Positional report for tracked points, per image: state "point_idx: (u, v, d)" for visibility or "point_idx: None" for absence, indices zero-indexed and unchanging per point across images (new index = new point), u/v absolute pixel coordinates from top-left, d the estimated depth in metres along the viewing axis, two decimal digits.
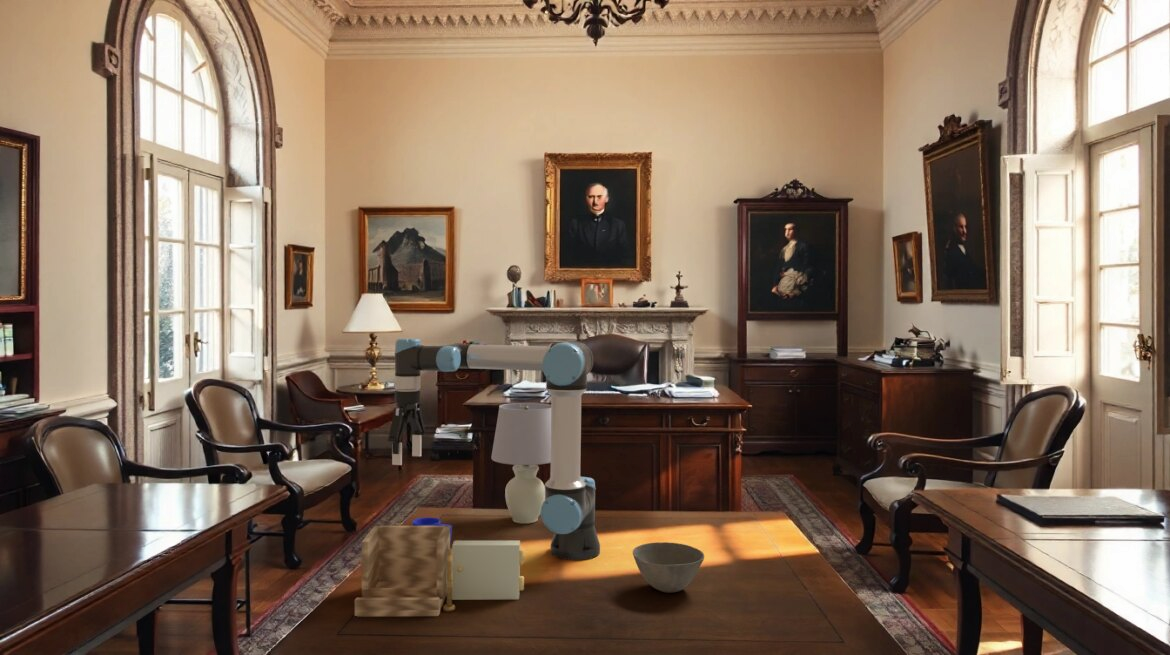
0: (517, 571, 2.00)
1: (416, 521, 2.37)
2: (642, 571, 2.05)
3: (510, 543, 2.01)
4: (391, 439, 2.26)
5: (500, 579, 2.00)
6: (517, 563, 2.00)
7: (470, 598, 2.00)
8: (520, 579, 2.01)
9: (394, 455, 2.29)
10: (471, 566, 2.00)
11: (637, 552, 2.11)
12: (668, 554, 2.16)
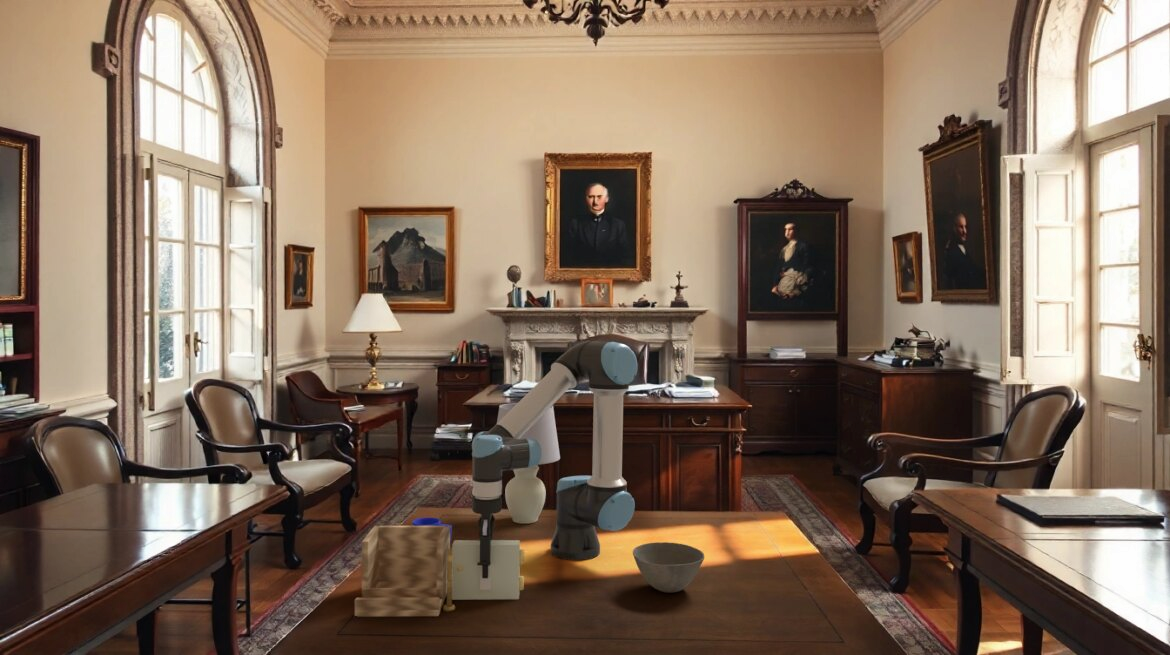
0: (517, 571, 2.00)
1: (416, 521, 2.37)
2: (642, 571, 2.05)
3: (509, 543, 2.01)
4: (483, 563, 1.96)
5: (500, 579, 2.00)
6: (517, 563, 2.00)
7: (470, 598, 2.00)
8: (520, 579, 2.01)
9: (482, 579, 1.99)
10: (471, 565, 2.00)
11: (637, 552, 2.11)
12: (668, 554, 2.16)
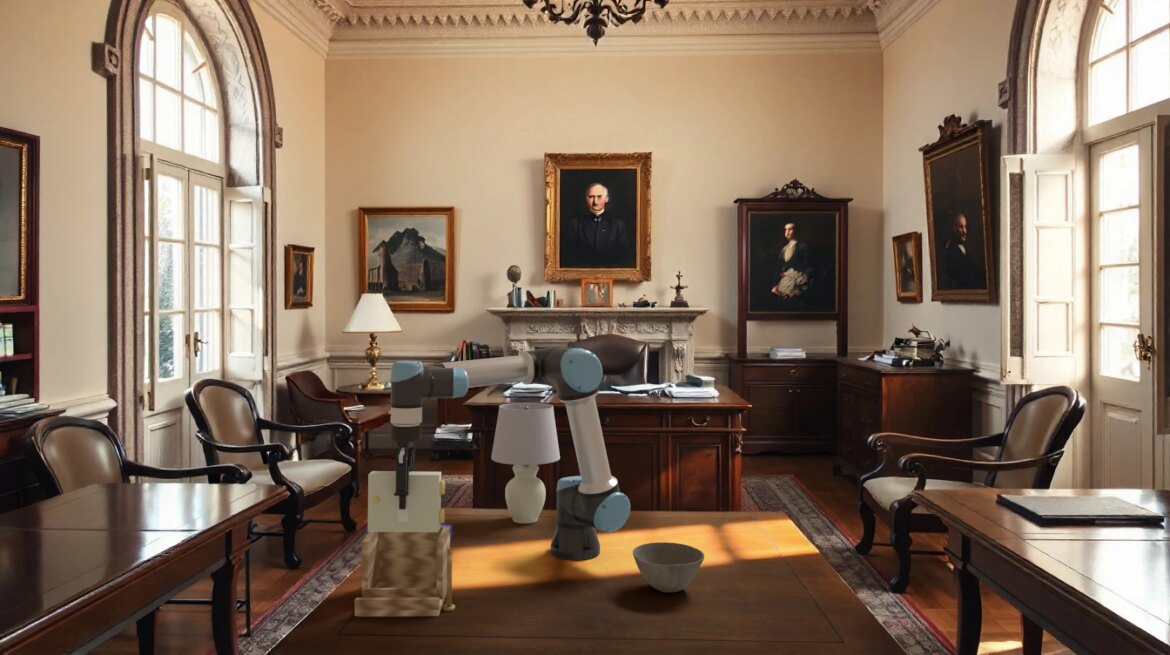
0: (436, 502, 1.91)
1: None
2: (642, 571, 2.05)
3: (429, 473, 1.92)
4: (400, 493, 1.87)
5: (419, 510, 1.91)
6: (437, 494, 1.91)
7: (387, 530, 1.90)
8: (440, 511, 1.92)
9: (400, 510, 1.90)
10: (388, 496, 1.90)
11: (637, 552, 2.11)
12: (668, 554, 2.16)
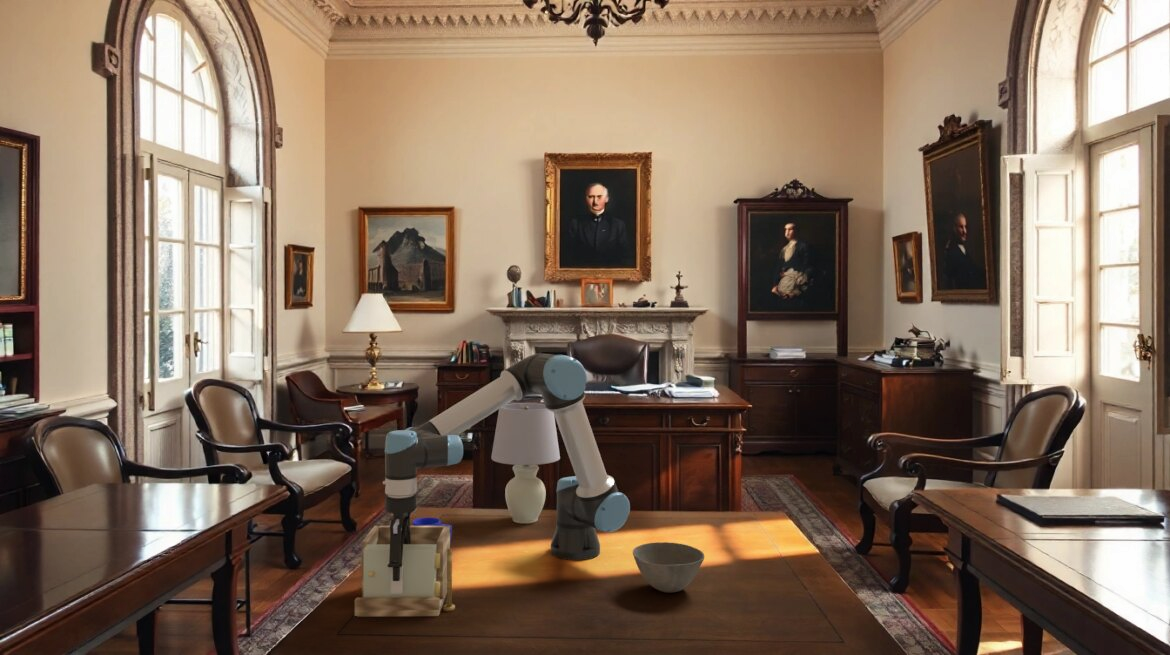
0: (432, 576, 1.91)
1: (416, 521, 2.37)
2: (642, 571, 2.05)
3: (424, 547, 1.92)
4: (393, 565, 1.85)
5: (414, 585, 1.91)
6: (432, 568, 1.91)
7: None
8: (436, 585, 1.92)
9: (393, 582, 1.88)
10: (383, 571, 1.90)
11: (637, 552, 2.11)
12: (668, 554, 2.16)
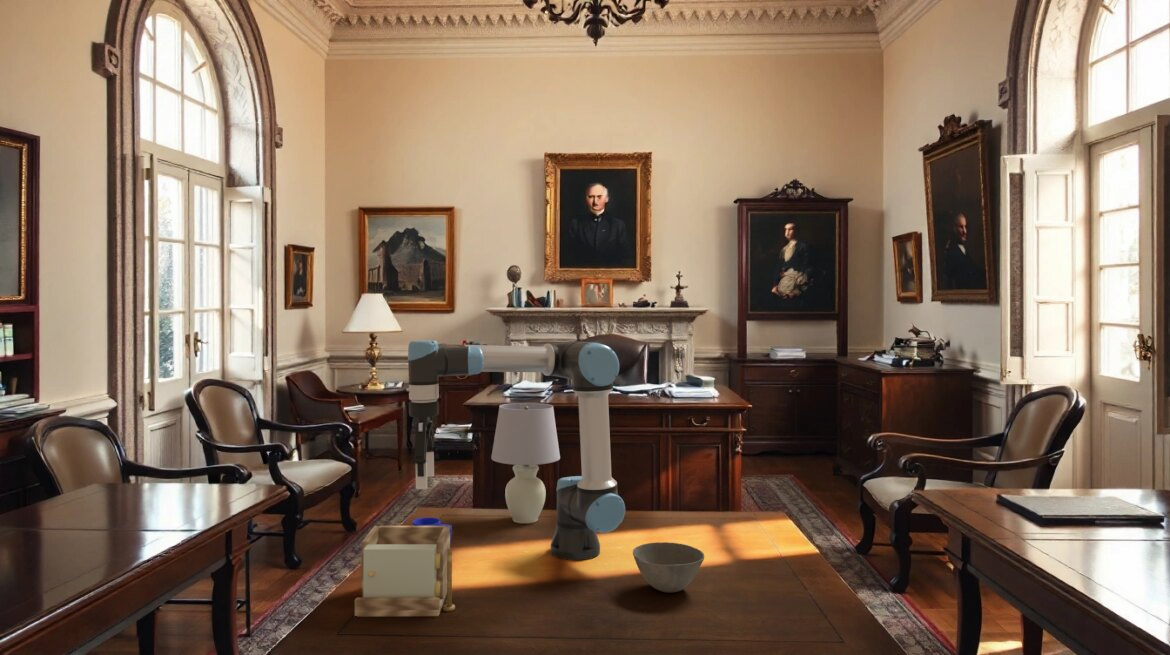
0: (432, 576, 1.91)
1: (416, 521, 2.37)
2: (642, 571, 2.05)
3: (424, 547, 1.92)
4: (418, 460, 1.92)
5: (414, 585, 1.91)
6: (432, 568, 1.91)
7: None
8: (436, 585, 1.92)
9: (418, 478, 1.95)
10: (383, 571, 1.90)
11: (637, 552, 2.11)
12: (668, 554, 2.16)
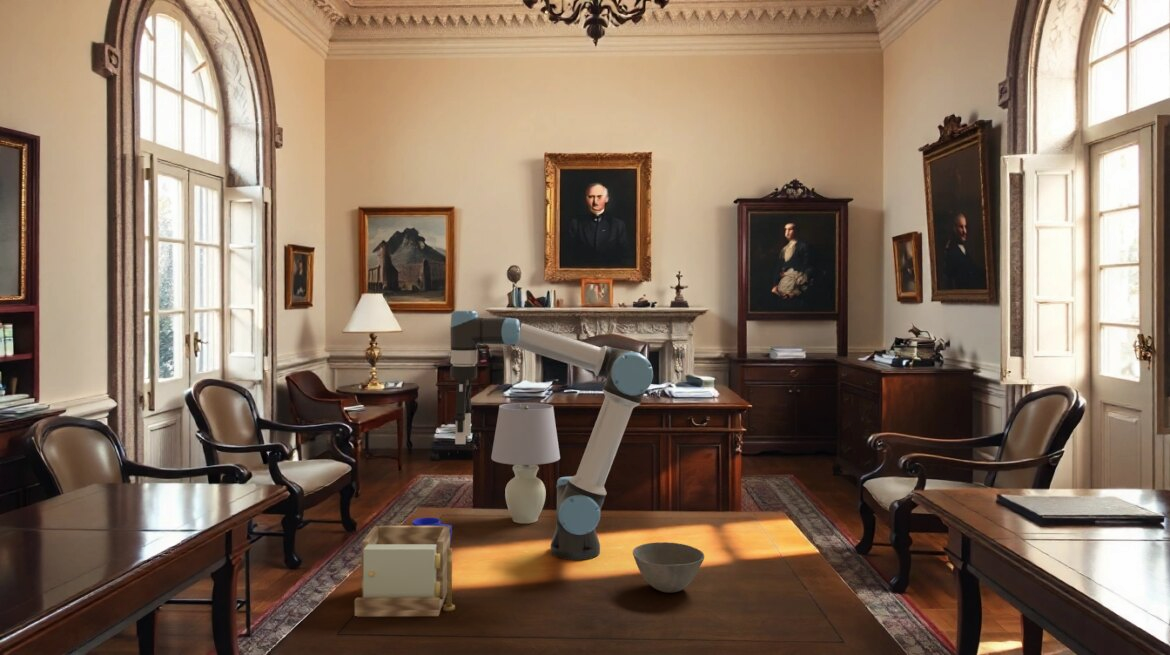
0: (432, 576, 1.91)
1: (416, 521, 2.37)
2: (642, 571, 2.05)
3: (424, 547, 1.92)
4: (458, 416, 2.12)
5: (414, 585, 1.91)
6: (432, 568, 1.91)
7: None
8: (436, 585, 1.92)
9: (458, 434, 2.15)
10: (383, 571, 1.90)
11: (637, 552, 2.11)
12: (668, 554, 2.16)
